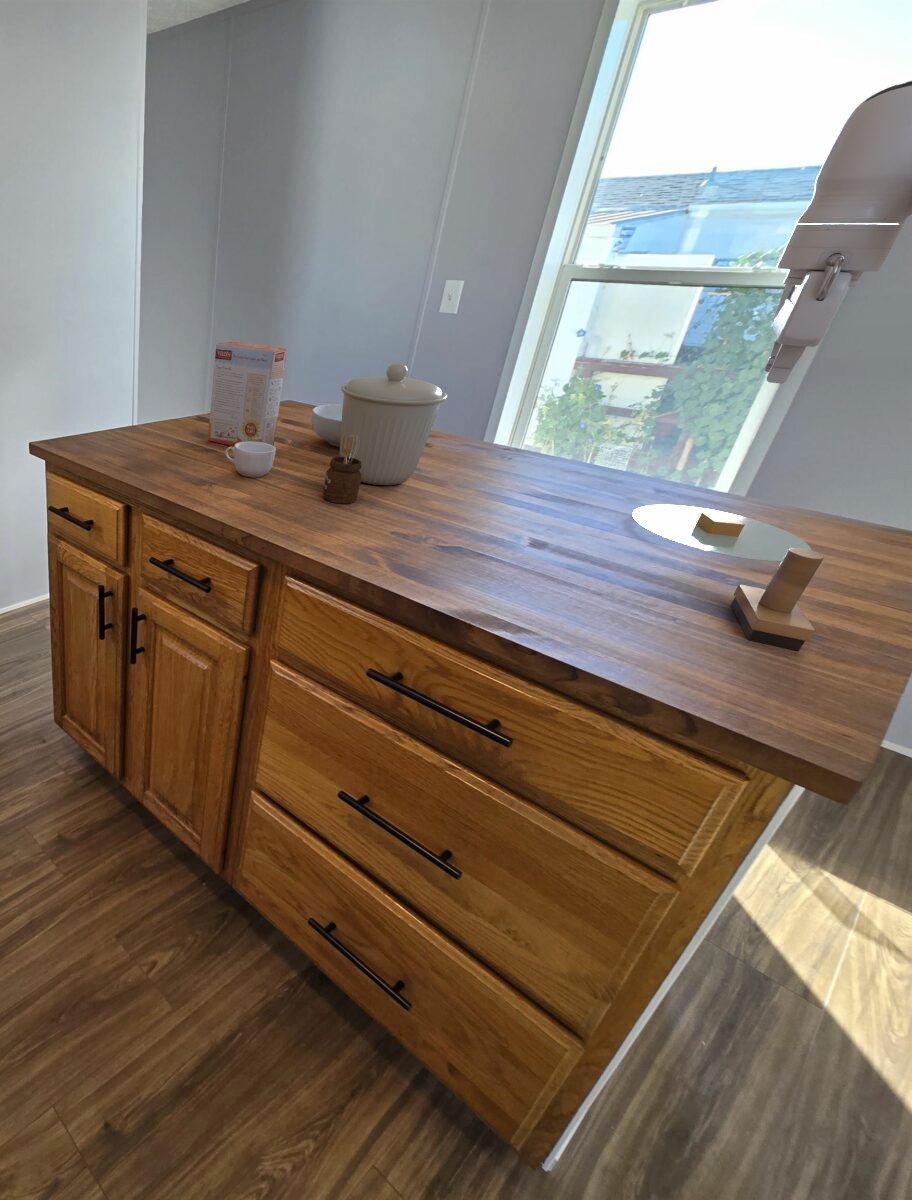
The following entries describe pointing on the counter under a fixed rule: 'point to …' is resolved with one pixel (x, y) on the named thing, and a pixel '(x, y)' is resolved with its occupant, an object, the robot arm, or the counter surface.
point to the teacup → (252, 458)
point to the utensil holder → (343, 477)
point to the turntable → (683, 529)
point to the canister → (388, 423)
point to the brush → (779, 603)
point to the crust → (720, 524)
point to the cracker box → (246, 393)
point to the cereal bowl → (328, 422)
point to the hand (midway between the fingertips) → (773, 376)
